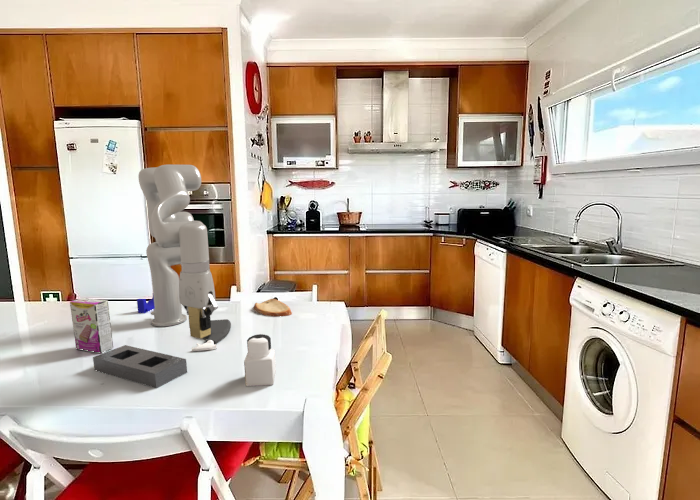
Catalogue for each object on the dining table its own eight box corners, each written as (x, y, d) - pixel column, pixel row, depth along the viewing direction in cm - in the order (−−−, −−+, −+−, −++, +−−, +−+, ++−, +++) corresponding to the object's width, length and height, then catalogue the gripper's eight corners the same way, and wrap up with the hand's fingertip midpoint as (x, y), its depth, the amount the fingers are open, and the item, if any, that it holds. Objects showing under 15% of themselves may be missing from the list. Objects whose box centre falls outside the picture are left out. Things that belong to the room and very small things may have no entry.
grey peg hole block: (94, 370, 119) (92, 357, 118) (126, 357, 128) (125, 345, 127) (156, 388, 107) (154, 373, 107) (187, 372, 116) (186, 358, 115)
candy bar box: (74, 350, 134) (68, 301, 132) (89, 345, 139) (83, 297, 137) (100, 354, 131) (94, 303, 128) (114, 348, 135) (108, 299, 133)
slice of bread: (290, 317, 165) (290, 308, 164) (245, 317, 166) (245, 308, 165) (298, 304, 182) (298, 296, 182) (258, 305, 183) (257, 296, 183)
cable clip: (152, 305, 186) (151, 292, 185) (162, 305, 186) (160, 292, 185) (135, 313, 175) (133, 299, 174) (144, 313, 174) (143, 299, 173)
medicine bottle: (249, 374, 114) (247, 332, 112) (276, 373, 114) (273, 331, 113) (245, 387, 107) (242, 342, 105) (273, 385, 107) (271, 341, 106)
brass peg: (190, 336, 121) (187, 303, 119) (201, 331, 125) (198, 299, 123) (200, 338, 119) (198, 305, 118) (210, 333, 123) (208, 301, 121)
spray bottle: (233, 326, 156) (222, 352, 132) (202, 328, 154) (187, 354, 131) (232, 318, 156) (222, 343, 132) (202, 320, 154) (186, 346, 130)
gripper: (164, 267, 119) (169, 327, 122) (207, 272, 111) (212, 337, 115) (185, 262, 125) (189, 320, 129) (227, 267, 118) (231, 328, 121)
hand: (200, 327), depth 122 cm, fingers closed on brass peg, 4 cm apart
